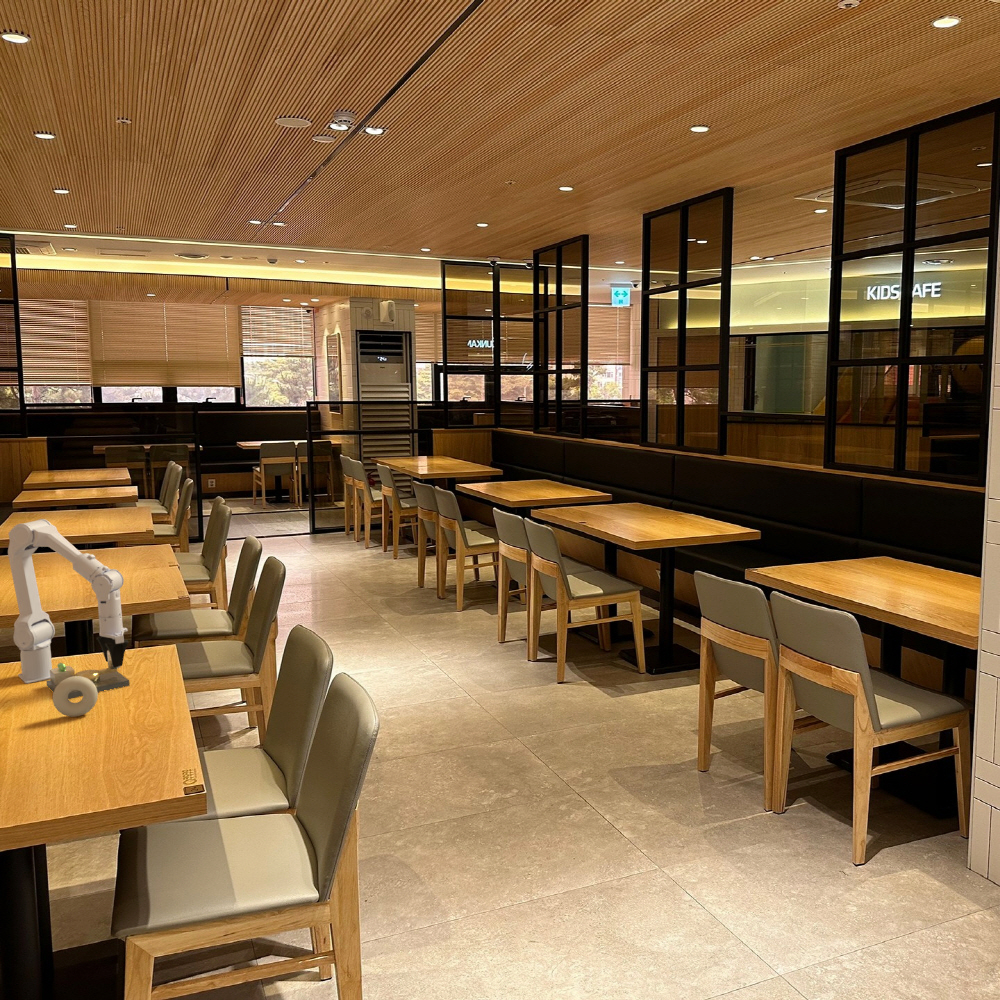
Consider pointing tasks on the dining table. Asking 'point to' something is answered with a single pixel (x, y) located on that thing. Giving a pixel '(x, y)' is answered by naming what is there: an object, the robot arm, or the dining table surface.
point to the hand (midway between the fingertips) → (114, 663)
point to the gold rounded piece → (98, 671)
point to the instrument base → (104, 683)
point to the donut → (80, 707)
